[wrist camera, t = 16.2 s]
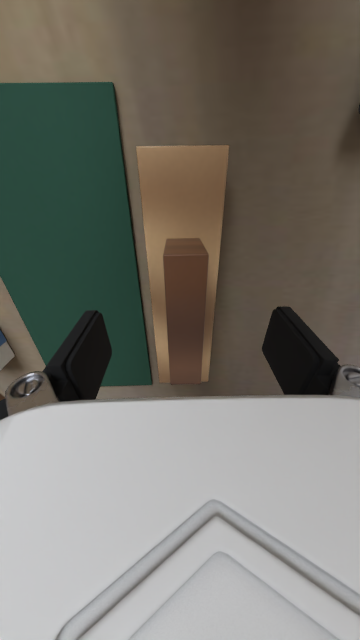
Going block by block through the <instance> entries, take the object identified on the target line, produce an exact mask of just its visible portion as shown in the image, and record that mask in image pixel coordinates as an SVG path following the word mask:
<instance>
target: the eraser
mask: <svg viewBox="0 0 360 640" xmlns="http://www.w3.org/2000/svg"><path fill="white" fill-rule="evenodd" d="M6 341H7V340H6V339H5V337H4V335H3V334H2V332H1V330H0V370H1V369H2V368H3V367H4V366H5V365H6V364H7V363H8V362H9V361H10V360H11V359H12V358H13V357H14V356H15V355H14V353H13V351H12V350H11V348H10V346H9V345H8V343H7V342H6Z"/></svg>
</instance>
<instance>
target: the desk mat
mask: <svg viewBox="0 0 360 640" xmlns="http://www.w3.org/2000/svg"><path fill="white" fill-rule="evenodd" d="M0 276H1V278H2V280H3V282H4V284H5V286H6V288H7V290H8V292H9V294H10V296H11V298H12V300H13V302H14V304H15V306H16V308H17V310H18V312H19V314H20V316H21V318H22V320H23V321H24V323H25V325H26V327H27V329H28V331H29V333H30V335H31V337H32V339H33V341H34V343H35V345H36V347H37V349H38V351H39V353H40V355H41V357H42V359H43V361H44V363H45V365H46V366H47V364H48V363H49V361H50V360H51V358H52V357H53V356H54V354H55V353H56V351H57V350H58V349H59V347H60V346H61V344H62V343H63V342H64V340H65V339H66V337H67V336H68V335H69V333H70V332H71V330H72V329H73V327H74V326H75V325H76V323H77V322H78V320H79V319H80V318H81V316H82V315H83V313H84V312H85V311H86V310H97V311H98V312H99V313H102V315H103V319H104V322H105V326H106V330H107V333H108V337H109V340H110V344H111V348H112V356H111V359H110V362H109V364H108V367H107V370H106V372H105V375H104V378H103V380H102V383H101V386H129V385H152V379H151V371H150V363H149V355H148V347H147V340H146V332H145V324H144V316H143V308H142V300H141V293H140V285H139V277H138V269H137V261H136V253H135V246H134V238H133V230H132V222H131V214H130V207H129V199H128V191H127V183H126V175H125V167H124V160H123V152H122V144H121V136H120V128H119V120H118V113H117V105H116V97H115V89H114V85H113V83H112V82H76V83H0Z"/></svg>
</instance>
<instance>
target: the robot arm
mask: <svg viewBox="0 0 360 640" xmlns="http://www.w3.org/2000/svg"><path fill="white" fill-rule="evenodd" d="M262 351H263V354H264V356H265V358H266V360H267V361H268V363H269V365H270V367H271V369H272V371H273V373H274V375H275V377H276V379H277V381H278V383H279V385H280V387H281V389H282V391H283V393H284V394H285V395H248V396H198V397H157V398H122V399H96V396H97V394H98V391H99V388H100V386H101V383H102V380H103V378H104V375H105V372H106V370H107V367H108V364H109V362H110V359H111V356H112V348H111V344H110V340H109V337H108V333H107V330H106V326H105V322H104V319H103V315H102V313H99V312H98V311H97V310H86V311H85V312H84V313H83V315H82V316H81V318H80V319H79V320H78V322H77V323H76V325H75V326H74V327H73V329H72V330H71V332H70V333H69V335H68V336H67V337H66V339H65V340H64V342H63V343H62V344H61V346H60V347H59V349H58V350H57V351H56V353H55V354H54V356H53V357H52V358H51V360H50V361H49V363H48V364H47V366H46V367H45V369H44V370H43V372H41V371H35V372H30V373H27V374H24V375H22V376H21V377H19V378H17V379H16V380H15V381H13V382H12V383H11V384H10V385H9V386H8V388H7V390H6V391H5V399H3V400H1V401H0V640H360V367H358V366H354V365H342V366H340V365H339V364H338V363H337V362H338V361H339V359H338V358H337V357H336V356H335V355H334V354H333V353H332V352H331V351H330V350H329V349H328V348H327V346H326V345H325V344H324V343H323V342H322V341H321V340H320V339H319V338H318V337H317V336H316V335H315V333H314V332H313V331H312V330H311V329H310V328H309V327H308V326H307V325H306V324H305V323H304V322H303V320H302V319H301V318H300V317H299V316H298V315H297V314H296V313H295V312H294V311H293V310H292V309H291V308H290V307H277V308H276V309H274V310H273V312H272V315H271V318H270V322H269V325H268V329H267V332H266V335H265V339H264V342H263V346H262ZM95 399H96V400H95Z"/></svg>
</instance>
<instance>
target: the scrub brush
mask: <svg viewBox="0 0 360 640" xmlns="http://www.w3.org/2000/svg"><path fill="white" fill-rule="evenodd" d="M136 152H137V162H138V172H139V182H140V192H141V202H142V212H143V222H144V233H145V243H146V253H147V263H148V273H149V283H150V293H151V303H152V313H153V323H154V333H155V343H156V353H157V363H158V373H159V382H160V383H170V384H171V385H177V384H201V382H208V377H209V366H210V355H211V343H212V332H213V321H214V310H215V299H216V288H217V277H218V266H219V255H220V244H221V233H222V221H223V210H224V199H225V188H226V177H227V166H228V155H229V145H200V146H137V147H136Z"/></svg>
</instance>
